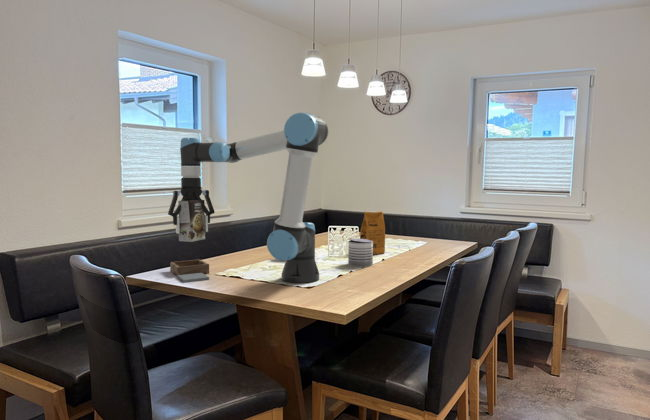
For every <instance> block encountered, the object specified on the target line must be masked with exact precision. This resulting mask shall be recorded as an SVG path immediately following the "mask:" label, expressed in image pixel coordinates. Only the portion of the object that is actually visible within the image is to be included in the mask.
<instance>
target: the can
mask: <svg viewBox="0 0 650 420" xmlns="http://www.w3.org/2000/svg"><path fill="white" fill-rule="evenodd" d="M347 255H348V259H347V260H348V262H347V263H348V264H347V265H348V266H351V267H357V268H366V267H371V266H373V263H374V262H373V260H374V259H373V258H374V254H373V241H371V240H367V239H360V238H359V237H358V238H357V237H356V238H354V237H352V238H348V254H347Z"/></svg>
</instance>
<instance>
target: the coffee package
mask: <svg viewBox="0 0 650 420" xmlns="http://www.w3.org/2000/svg"><path fill="white" fill-rule="evenodd" d="M363 215H364V216H363V220H362V223H361V227H360V233H359V239H367V240H371V241H373V255H382V254H385V253H386V247H385V246H386V224H385V218H384V212H383V211H376V212H370V211H364V213H363Z"/></svg>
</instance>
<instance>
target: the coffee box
mask: <svg viewBox="0 0 650 420" xmlns="http://www.w3.org/2000/svg"><path fill="white" fill-rule="evenodd" d="M202 201H203V203H204V205H205V206H206V204H205V202H206V199H202ZM177 202H178V206H180V204H181V211H180V212H179V214H178V217H179V228H180V234H178V242H186V243H187V242H188V243H191V242H197V241H202V240H206V232H205V215H206V214H205V211H204V209H203V207H202V205H201V201H200V200H187V201H181V200H177ZM178 206H177V207H178Z"/></svg>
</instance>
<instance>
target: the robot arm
mask: <svg viewBox="0 0 650 420" xmlns="http://www.w3.org/2000/svg"><path fill="white" fill-rule="evenodd" d="M283 126H284V127H283V130H278V131H274V132H271V133H267V134H263V135H260V136H255V137H251V138H247V139H243V140H239V141H234V142H232V143H225V142H221V141H220V142H218V141H215V142H201V140H200V138H199V137H182V138H181V139H180V147H179V150H180V176H181V179H180V186H181V188H180V190H173V191H172V195H173V196H172V199H171V203H170V205H169V209H168V213H167V215H168V216H171V217H172V223H173V226H175V233H176V234H178V235H179V234H180V228H179V212H180V211H181V204H180V206H177V207H176V205H177V202H178V197H179V196H180V195H181V196H182V198H181V199H180V201H187V200H200V201H201V205H202V207H203V209H204V211H205V233H209V224H211V215H213V214H215V213H216V212H215V209H214V206H213V204H212V201H211V197H210V190H208V189H205V190H204V189H203V190H202V178H201V176H202V172H201V169H202V168H201V163H229V164H230V163H231V164H233V163H238V162H240V161H242V160H245V159H251V158H255V157H258V156H264V155H268V154H273V153H275V152H276V153H277V152H280V151H287V152H288V160H287V166H286V173H285V180H284V186H283V192H282V200H281V205H280V210H279V212H280V213H279V216H278V218H277V219H275V221H274V222H273V223H274V224H273V230H272V232H271V233H269V235H268V237H267V241H266V247H267V251H268V252H269V254H270V256H272V257H273V258H274V259H275V260H278V261H285V263H284V266H283V268H282V272H281V280H282V281H284V282H287V283H293V284H294V283H295V284H302V283H303V284H304V283H313V282H317V281H319V279H320V272H319V269H318V266H317V261H316V258H315V257H316V227H315V224H314V223H313V222H306V221H305V222H303V220H304V219H303V218H304V212H305V206H306V199H307V195H308V187H309V181H310V175H311V174H310V173H311V170H312V169H311V168H312V162H313V157H314V156H316V155H317V154H318V151H319V147H320V146H321V145H323V143H325V142H326V140H327V138H328V136H329V127H328V124H327V123H326V121H325V120H324V118H321V117H320V116H317V115H314V114H312V113H309V112H296V113H293V114H292V115H290V116H289V118H287V120H286V121H285V124H284V125H283ZM201 195H203V196H204V200H205V202H206V204H205V205H204V203H205V202H204V203H203V201H202V200H203V199H202V198H201ZM206 205H207V206H206ZM207 207H208V208H207Z"/></svg>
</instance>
